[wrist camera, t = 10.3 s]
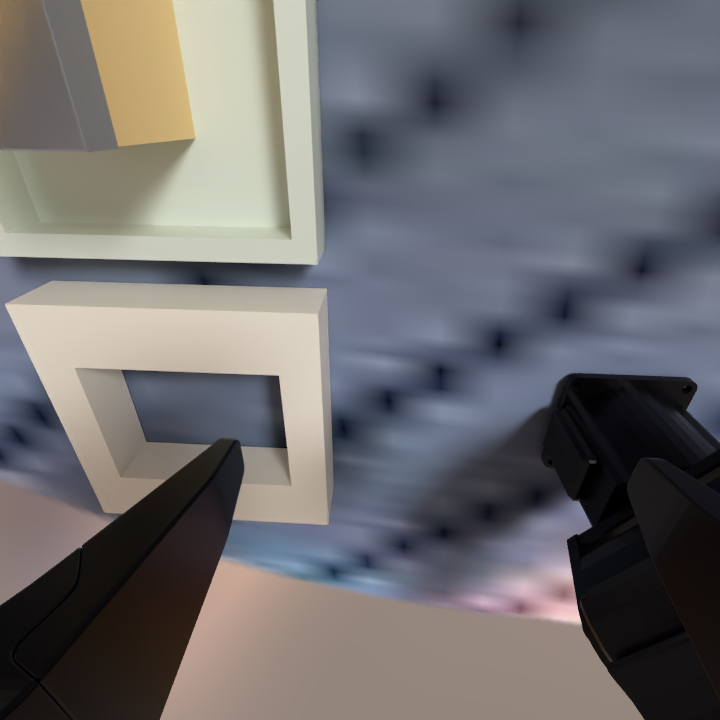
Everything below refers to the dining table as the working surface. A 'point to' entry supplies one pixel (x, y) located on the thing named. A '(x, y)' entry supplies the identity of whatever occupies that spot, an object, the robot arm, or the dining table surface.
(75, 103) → the block
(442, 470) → the dining table surface
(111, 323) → the white square frame
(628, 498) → the robot arm
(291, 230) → the parts tray
